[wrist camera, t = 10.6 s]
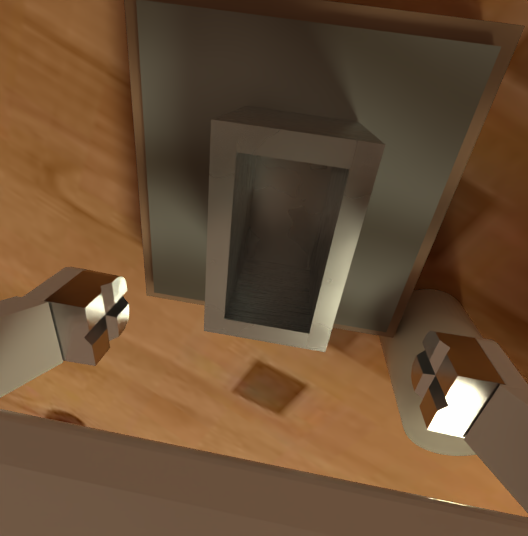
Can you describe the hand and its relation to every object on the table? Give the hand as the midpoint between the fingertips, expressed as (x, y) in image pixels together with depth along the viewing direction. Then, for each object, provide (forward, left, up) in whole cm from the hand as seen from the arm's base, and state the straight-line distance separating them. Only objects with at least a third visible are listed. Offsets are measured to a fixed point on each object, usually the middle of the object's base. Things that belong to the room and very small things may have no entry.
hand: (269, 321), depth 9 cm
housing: (0, 0, -9) cm, 9 cm away
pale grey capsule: (-8, -11, -13) cm, 19 cm away
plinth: (+1, 0, -13) cm, 13 cm away
